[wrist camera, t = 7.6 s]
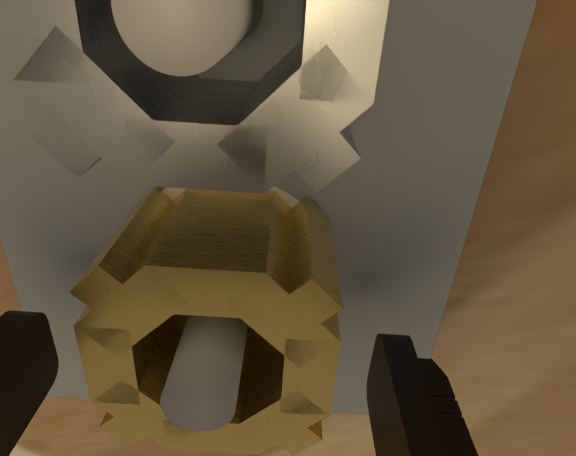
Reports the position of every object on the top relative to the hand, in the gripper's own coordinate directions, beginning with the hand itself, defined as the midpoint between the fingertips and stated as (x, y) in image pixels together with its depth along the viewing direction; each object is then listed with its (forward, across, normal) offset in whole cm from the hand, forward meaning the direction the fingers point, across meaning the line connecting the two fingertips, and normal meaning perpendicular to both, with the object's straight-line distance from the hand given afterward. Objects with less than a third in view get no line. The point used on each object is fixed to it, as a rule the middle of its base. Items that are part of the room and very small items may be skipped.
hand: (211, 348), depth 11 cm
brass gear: (+3, 0, 0) cm, 3 cm away
